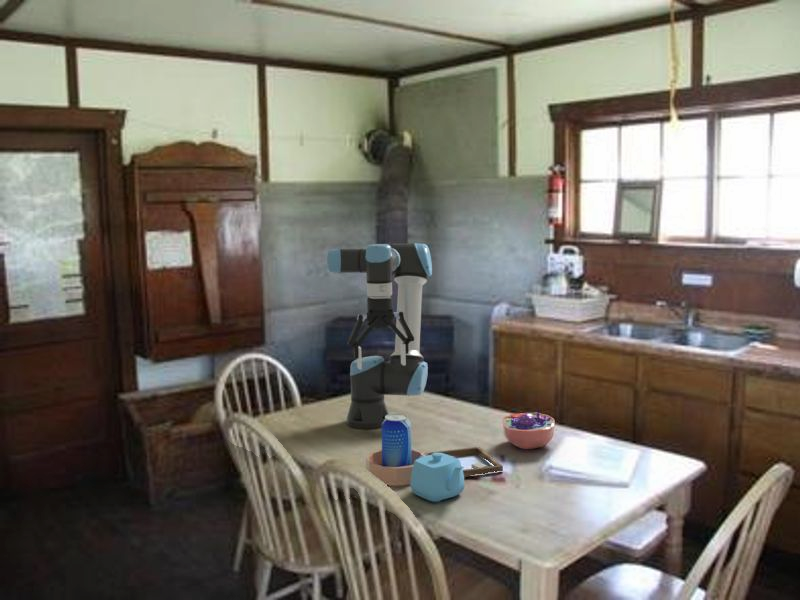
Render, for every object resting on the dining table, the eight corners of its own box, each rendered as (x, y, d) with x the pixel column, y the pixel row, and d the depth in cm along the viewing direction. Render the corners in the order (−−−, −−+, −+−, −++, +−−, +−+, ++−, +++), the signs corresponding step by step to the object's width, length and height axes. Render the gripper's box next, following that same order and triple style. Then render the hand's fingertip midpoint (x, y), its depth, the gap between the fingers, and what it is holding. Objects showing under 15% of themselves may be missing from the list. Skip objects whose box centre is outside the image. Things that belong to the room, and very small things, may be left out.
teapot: (445, 513, 193) (445, 470, 191) (401, 492, 207) (400, 451, 205) (481, 500, 200) (481, 458, 199) (436, 481, 214) (436, 441, 213)
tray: (423, 459, 232) (423, 453, 231) (479, 452, 236) (479, 446, 236) (443, 480, 214) (443, 473, 214) (502, 472, 219) (502, 466, 219)
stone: (471, 471, 221) (471, 464, 221) (479, 469, 223) (479, 462, 223) (479, 475, 218) (479, 467, 218) (487, 473, 220) (487, 465, 220)
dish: (359, 467, 226) (358, 451, 225) (417, 460, 231) (417, 444, 230) (374, 489, 209) (373, 472, 208) (436, 481, 214) (436, 464, 213)
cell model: (562, 439, 247) (562, 405, 246) (546, 459, 229) (547, 423, 228) (511, 433, 254) (511, 400, 253) (492, 452, 237) (492, 417, 235)
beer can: (415, 467, 222) (415, 414, 220) (405, 477, 215) (405, 422, 212) (388, 463, 225) (388, 411, 223) (377, 473, 218) (377, 419, 215)
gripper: (341, 301, 220) (343, 373, 223) (423, 295, 227) (425, 365, 230) (335, 297, 227) (338, 367, 230) (416, 292, 234) (417, 360, 237)
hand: (381, 366), depth 230 cm, fingers open, 13 cm apart
